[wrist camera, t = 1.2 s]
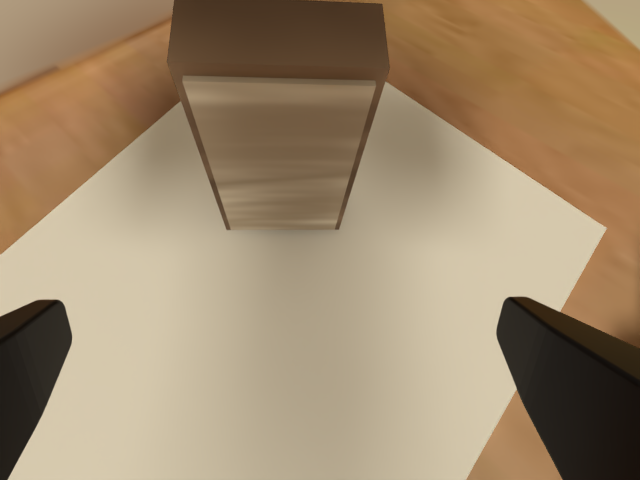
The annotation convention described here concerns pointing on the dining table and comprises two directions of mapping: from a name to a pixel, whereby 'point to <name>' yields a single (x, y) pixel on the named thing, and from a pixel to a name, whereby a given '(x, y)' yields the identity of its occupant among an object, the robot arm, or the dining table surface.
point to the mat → (290, 313)
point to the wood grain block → (279, 103)
